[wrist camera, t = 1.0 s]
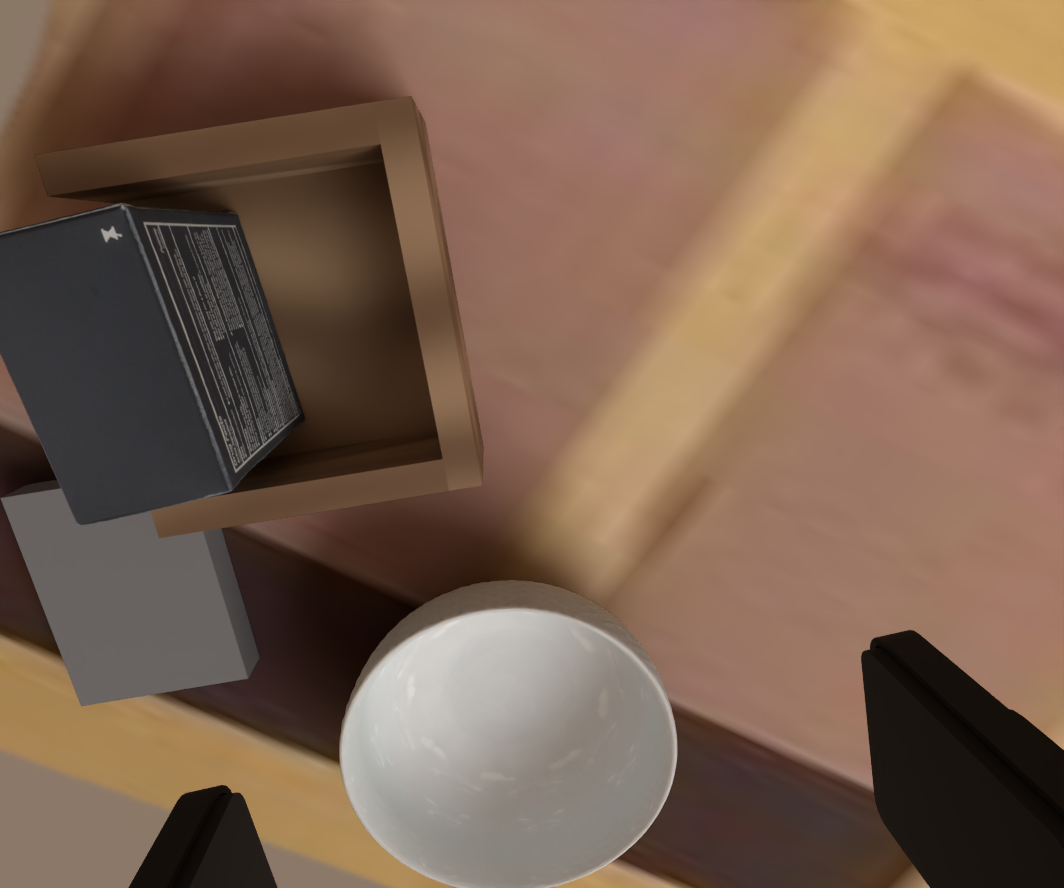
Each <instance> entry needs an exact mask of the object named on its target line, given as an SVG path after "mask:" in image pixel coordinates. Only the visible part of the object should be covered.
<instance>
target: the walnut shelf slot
mask: <svg viewBox="0 0 1064 888" xmlns="http://www.w3.org/2000/svg"><path fill="white" fill-rule="evenodd" d="M34 156H35V159H36V162H37V165H38V168H39V171H40V174H41V177H42V180H43V183H44V186H45V190H46V193H47V196H50V197H60V198H69V199H79V200H88V201H98V202H107V203H125V204H129V205H133V206H144V207H162V208H175V209H194V210H203V211H218V212H222V211H223V210H226V209H228V210H230V211H232V212H234V213H236V214H238V216H239V220H240V223H241V226H242V229H243V232H244V234H245V238H246V241H247V243H248V246H249V249H250V252H251V255H252V258H253V261H254V264H255V267H256V269H257V273H258V276H259V279H260V282H261V285H262V288H263V291H264V294H265V297H266V299H267V303H268V307H269V309H270V312H271V315H272V318H273V321H274V325H275V328H276V331H277V333H278V336H279V340H280V343H281V346H282V349H283V352H284V354H285V357H286V361H287V364H288V367H289V370H290V373H291V376H292V379H293V382H294V385H295V388H296V391H297V394H298V398H299V401H300V404H301V407H302V410H303V413H304V416H305V421H304V422H303V423H302V424H301V425H299V426H297V427H296V428H295V429H294V430H292V431H291V432H290V434H289V435H288V436H286V437H285V438H284V439H283V440H282V441H281V442H280V443H279V444H278V445H277V446H276V447H275V448H273V449H272V450H271V451H270V452H269V453H268V454H267V455H266V456H265V457H264V458H263V459H262V460H261V461H260V462H258V463H257V464H256V466H254V467H253V468H252V469H251V470H250V471H249V472H248V473H247V474H246V476H244V477H243V478H242V479H241V480H240V482H239V484H238V485H237V486H236V487H235V488H234V489H233V490H232V491H230V492H228V493H224V494H220V495H216V496H211V497H208V498H203V499H199V500H195V501H191V502H187V503H183V504H179V505H174V506H170V507H166V508H162V509H158V510H153V511H150V512H151V515H152V518H153V521H154V524H155V527H156V530H157V533H158V536H159V538H165V537H171V536H177V535H183V534H189V533H195V532H201V531H207V530H213V529H220V528H226V527H232V526H238V525H244V524H250V523H256V522H262V521H269V520H275V519H281V518H287V517H293V516H299V515H305V514H311V513H317V512H324V511H330V510H336V509H342V508H348V507H354V506H360V505H366V504H373V503H379V502H385V501H391V500H397V499H403V498H409V497H415V496H421V495H428V494H434V493H440V492H446V491H452V490H458V489H464V488H470V487H476V486H482V482H483V452H484V448H483V442H482V436H481V431H480V425H479V420H478V414H477V409H476V403H475V397H474V392H473V386H472V381H471V375H470V370H469V364H468V358H467V353H466V347H465V342H464V336H463V331H462V325H461V319H460V314H459V308H458V303H457V297H456V292H455V286H454V280H453V275H452V269H451V264H450V258H449V253H448V247H447V241H446V236H445V230H444V225H443V219H442V214H441V208H440V202H439V197H438V191H437V186H436V180H435V175H434V169H433V163H432V158H431V152H430V147H429V141H428V136H427V130H426V124H425V121H424V119H423V117H422V115H421V113H420V112H419V110H418V108H417V106H416V104H415V102H414V100H413V99H412V97H411V96H408V97H402V98H395V99H389V100H383V101H376V102H370V103H363V104H357V105H351V106H344V107H338V108H331V109H325V110H319V111H312V112H306V113H299V114H293V115H287V116H280V117H274V118H267V119H261V120H255V121H248V122H242V123H235V124H229V125H223V126H216V127H210V128H204V129H197V130H191V131H184V132H178V133H172V134H165V135H159V136H152V137H146V138H140V139H133V140H127V141H120V142H114V143H108V144H101V145H95V146H88V147H82V148H76V149H69V150H63V151H56V152H50V153H44V154H37V155H34Z"/></svg>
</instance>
